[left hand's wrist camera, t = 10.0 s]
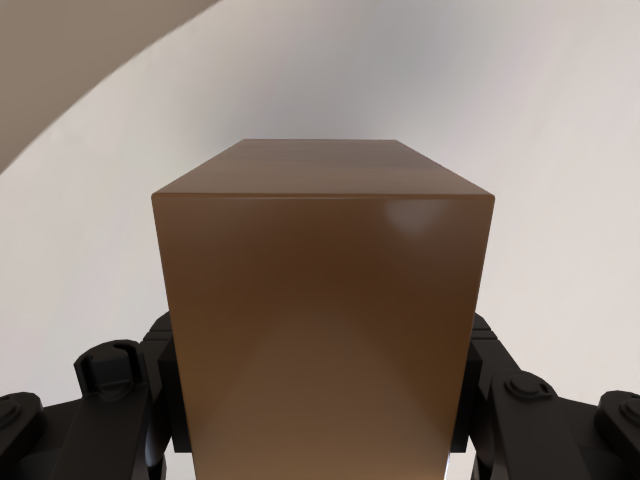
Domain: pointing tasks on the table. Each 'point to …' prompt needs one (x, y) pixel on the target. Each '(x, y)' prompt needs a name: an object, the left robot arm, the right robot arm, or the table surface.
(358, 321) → the bar
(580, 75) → the table surface
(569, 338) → the table surface
